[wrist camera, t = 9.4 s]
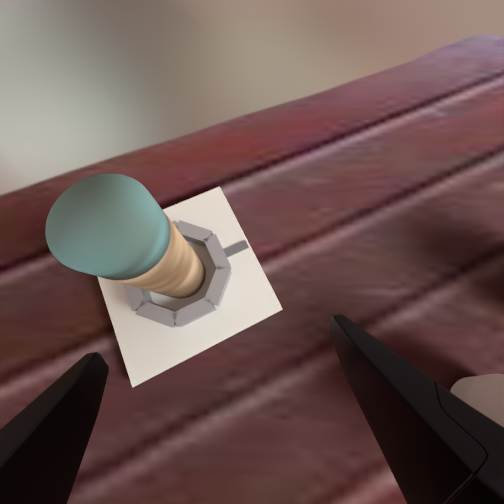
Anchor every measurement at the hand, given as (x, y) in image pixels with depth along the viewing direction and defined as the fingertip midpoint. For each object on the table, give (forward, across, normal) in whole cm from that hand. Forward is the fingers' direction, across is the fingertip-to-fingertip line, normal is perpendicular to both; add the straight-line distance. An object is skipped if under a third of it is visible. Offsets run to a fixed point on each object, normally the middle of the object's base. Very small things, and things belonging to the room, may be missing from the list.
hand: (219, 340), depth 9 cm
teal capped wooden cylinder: (+12, +4, +4) cm, 14 cm away
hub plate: (+13, +5, +5) cm, 15 cm away
